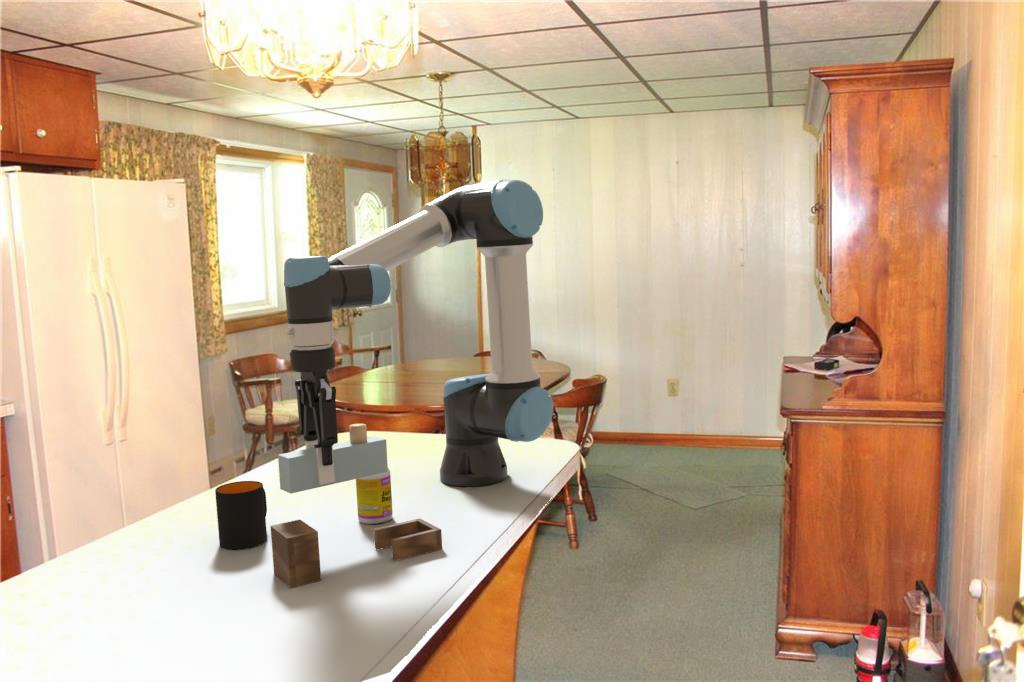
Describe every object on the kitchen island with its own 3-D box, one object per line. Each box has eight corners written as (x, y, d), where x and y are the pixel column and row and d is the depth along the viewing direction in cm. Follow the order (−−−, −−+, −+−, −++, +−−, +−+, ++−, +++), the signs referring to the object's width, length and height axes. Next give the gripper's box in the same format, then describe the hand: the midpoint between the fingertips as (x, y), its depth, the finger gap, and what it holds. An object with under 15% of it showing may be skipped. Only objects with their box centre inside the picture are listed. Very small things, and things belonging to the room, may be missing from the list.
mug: (286, 529, 165) (282, 476, 164) (250, 551, 154) (245, 494, 153) (248, 527, 168) (244, 474, 167) (210, 548, 156) (205, 492, 155)
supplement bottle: (386, 525, 165) (382, 459, 164) (353, 524, 167) (348, 458, 165) (397, 514, 172) (393, 450, 170) (365, 513, 173) (361, 450, 172)
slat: (376, 467, 162) (373, 420, 161) (387, 471, 159) (385, 422, 158) (280, 489, 150) (276, 437, 149) (290, 493, 146) (287, 440, 145)
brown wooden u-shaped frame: (420, 537, 158) (419, 518, 158) (442, 549, 151) (441, 529, 151) (375, 548, 153) (373, 528, 153) (395, 561, 146) (393, 540, 146)
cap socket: (303, 565, 146) (300, 519, 145) (321, 580, 139) (317, 531, 138) (274, 573, 143) (270, 525, 142) (290, 588, 137) (287, 538, 136)
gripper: (274, 345, 155) (283, 473, 157) (308, 353, 140) (319, 495, 143) (314, 341, 159) (323, 466, 162) (352, 348, 144) (361, 486, 147)
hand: (321, 479), depth 152 cm, fingers closed on slat, 4 cm apart
